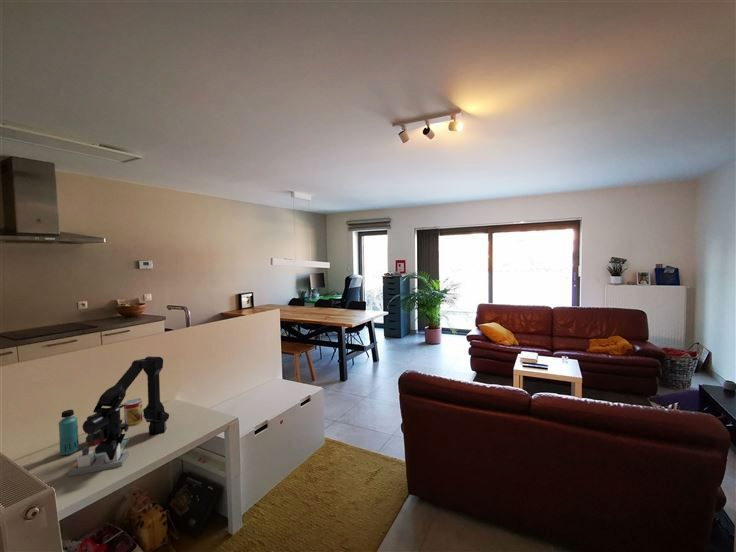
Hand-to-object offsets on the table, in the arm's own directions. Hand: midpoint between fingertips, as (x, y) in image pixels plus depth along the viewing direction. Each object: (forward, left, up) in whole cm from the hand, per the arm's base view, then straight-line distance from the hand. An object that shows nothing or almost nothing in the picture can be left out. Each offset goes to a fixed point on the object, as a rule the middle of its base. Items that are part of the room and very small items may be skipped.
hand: (113, 456), depth 138 cm
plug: (0, 0, -1) cm, 1 cm away
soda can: (+14, -23, -3) cm, 27 cm away
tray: (+5, -14, -3) cm, 15 cm away
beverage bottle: (+22, -16, -3) cm, 27 cm away
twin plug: (+10, 0, -3) cm, 10 cm away
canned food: (+4, -39, -3) cm, 39 cm away
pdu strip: (+5, 0, -3) cm, 6 cm away
